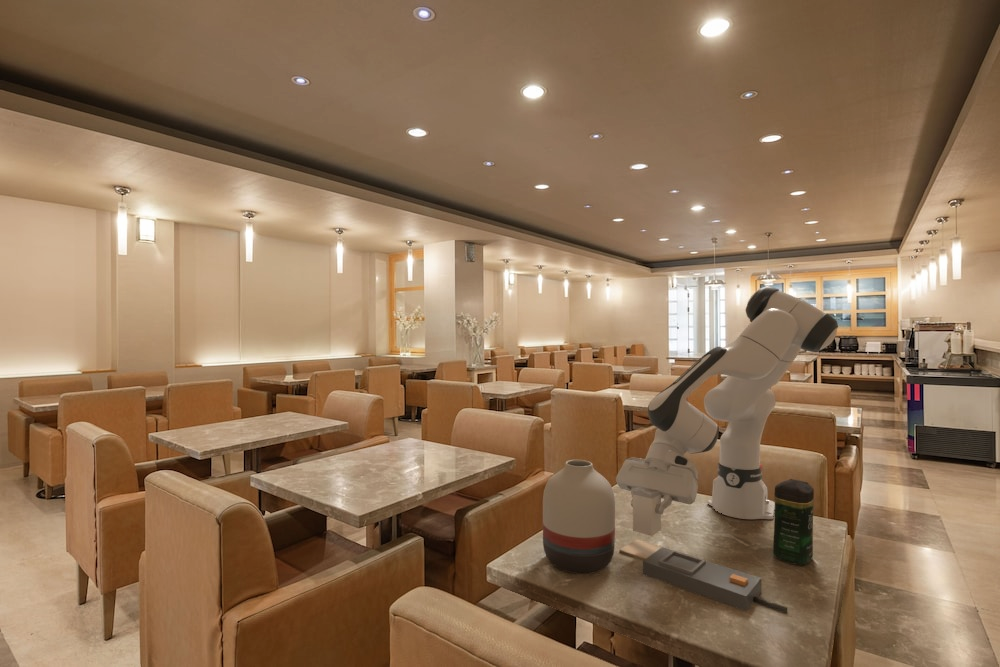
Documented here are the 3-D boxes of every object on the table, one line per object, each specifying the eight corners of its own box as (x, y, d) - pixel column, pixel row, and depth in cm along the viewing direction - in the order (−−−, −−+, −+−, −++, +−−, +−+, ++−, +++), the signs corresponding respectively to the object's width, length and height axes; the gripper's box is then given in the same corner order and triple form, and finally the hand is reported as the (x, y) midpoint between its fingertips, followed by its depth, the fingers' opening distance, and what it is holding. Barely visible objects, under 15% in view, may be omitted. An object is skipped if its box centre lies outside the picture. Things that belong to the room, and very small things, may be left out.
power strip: (661, 559, 121) (662, 543, 121) (793, 602, 103) (793, 584, 103) (642, 574, 114) (642, 557, 114) (780, 623, 95) (780, 603, 95)
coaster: (636, 541, 132) (636, 538, 132) (669, 551, 126) (669, 549, 126) (619, 552, 125) (619, 549, 125) (653, 563, 119) (653, 561, 119)
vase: (599, 587, 108) (600, 477, 108) (530, 567, 117) (530, 465, 117) (624, 557, 123) (624, 460, 123) (560, 541, 132) (561, 451, 131)
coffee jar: (806, 570, 117) (807, 490, 116) (769, 558, 122) (770, 482, 122) (817, 556, 124) (817, 481, 123) (781, 546, 129) (782, 474, 129)
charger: (642, 524, 128) (642, 485, 128) (661, 530, 125) (661, 489, 125) (632, 530, 125) (632, 490, 125) (652, 536, 121) (652, 494, 121)
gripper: (622, 449, 137) (604, 493, 130) (698, 462, 123) (682, 512, 116) (630, 462, 140) (612, 506, 133) (705, 476, 127) (690, 526, 119)
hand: (646, 509), depth 124 cm, fingers closed on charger, 5 cm apart
